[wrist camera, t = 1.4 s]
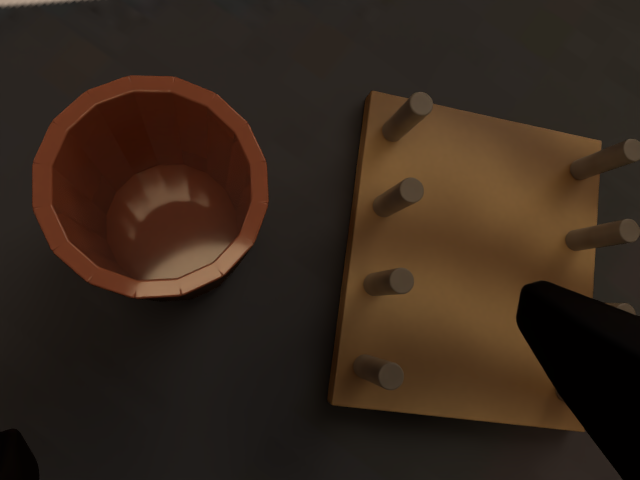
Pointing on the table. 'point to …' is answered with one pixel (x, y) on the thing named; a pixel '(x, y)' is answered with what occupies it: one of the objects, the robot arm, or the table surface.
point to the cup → (150, 188)
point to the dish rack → (463, 259)
